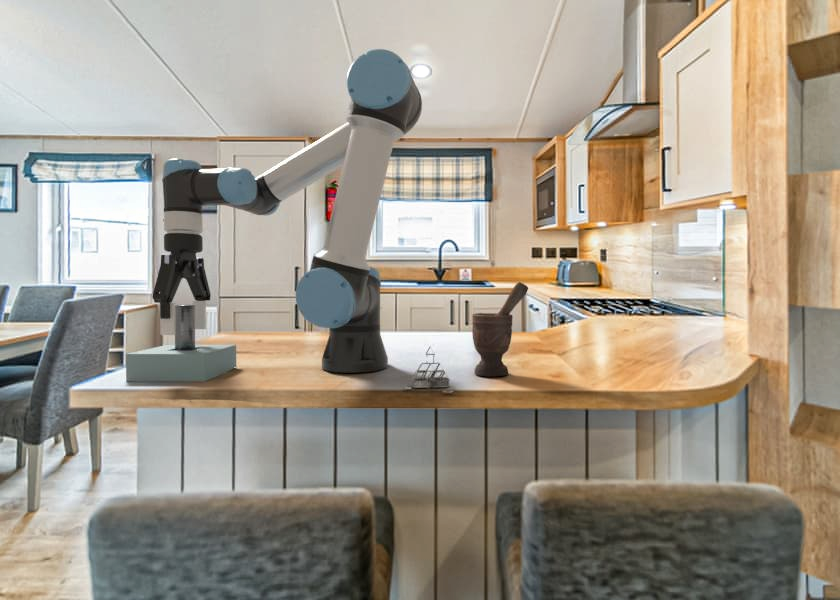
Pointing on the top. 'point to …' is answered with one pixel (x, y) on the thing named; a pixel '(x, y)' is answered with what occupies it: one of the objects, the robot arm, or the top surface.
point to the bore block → (180, 363)
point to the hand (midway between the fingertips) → (184, 331)
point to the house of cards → (431, 380)
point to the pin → (185, 327)
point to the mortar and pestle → (495, 335)
